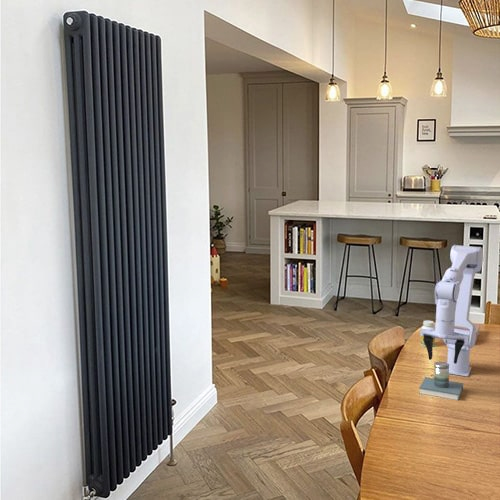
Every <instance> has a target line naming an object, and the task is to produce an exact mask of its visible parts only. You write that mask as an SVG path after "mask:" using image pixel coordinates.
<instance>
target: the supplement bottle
mask: <svg viewBox="0 0 500 500" xmlns="http://www.w3.org/2000/svg"><path fill="white" fill-rule="evenodd" d="M434 324H435V322H434V321H433V320H426V319H425V320H423V322H422V326H421V329H428V330H435V327H433V326H434ZM421 329H420V330H421ZM423 338H424V337H422V336H420V345H421V346H422V347H426V346H425V343H424V341H423ZM435 343H436V340H435V338H433V347H435Z"/></svg>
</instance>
